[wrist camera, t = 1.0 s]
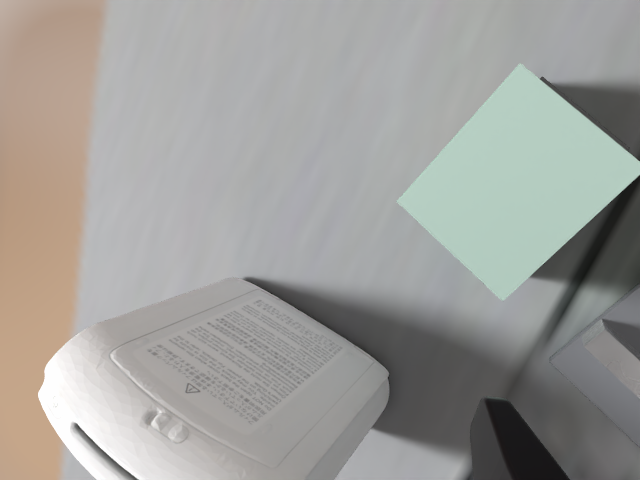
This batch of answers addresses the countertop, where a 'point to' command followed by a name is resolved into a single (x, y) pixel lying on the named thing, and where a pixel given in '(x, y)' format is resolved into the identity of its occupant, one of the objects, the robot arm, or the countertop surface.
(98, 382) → the photo printer
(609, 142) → the green module
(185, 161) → the countertop surface
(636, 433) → the mounting board
